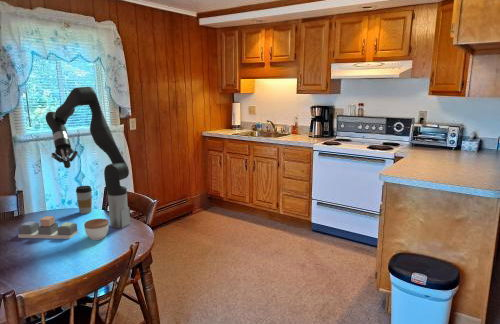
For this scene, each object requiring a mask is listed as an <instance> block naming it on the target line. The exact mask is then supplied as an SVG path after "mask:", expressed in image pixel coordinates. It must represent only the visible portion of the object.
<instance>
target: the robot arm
mask: <svg viewBox="0 0 500 324" xmlns="http://www.w3.org/2000/svg"><path fill="white" fill-rule="evenodd" d="M78 106H80V107H81V106H82V107H83V106H89V109H90V112H91V118H90V119H91V120H90V125H89V132H90V135H91V137H92V139H93V142H94V143H95V145H96V146H97V147H98V148H100V150H102V152H104V153H105V154H106V155H107V156H108V158H109V160H110V161H111V163H110V164H107V165H106V166H105V167H104V170H103V171H104V172H103V173H104V174H103V175H104V185H105V189H106V191H107V200H108V201H107V202H108V213H109V214H108V215H109V227H110V228H112V229H120V228H121V229H123V228H125V227H127V226H129V225H131V214H130V213H131V212H130V207H129V206H128V192H127V191H128V189H127V187H126V186H123V185H121V180H125V179H127V178H128V177H129V175H130V170H129V166H128V165H127V163H126V160H125V159H124V157H123V155H122V154H121V152H120V149H119V148H118V145H117V143H116V141H115V138H114V137H113V134H112V132H111V129H110V127H109V125H108V122H107V120H106V117H105V116H104V113H103V110H102V108H101V104H100V101H99V98H98V95H97V93H96V91H95V89H94V88H93V87H92V86H80V87H74V88H73V89H71V90H70V93H69V94H68V96H67V97H66V98H65V101H64V102H63V103H62V104H61V105H59V106H58V107H57V109H56V110H55V111H48V112H47V113H46V115H45V121H46V123H47V125H48V127H49V128H50V130H51V133H52V138H53V140H52V141H53V145H54V148H55V150H54V152H52V153H51V158H53V159H54V160H56V161H57V162H59V163H63V166H64V168H65V169H70V167H71V162H73V161H74V160H75V158H76V157H77V156H78V153H79V152H78V150H73V148H72V146H71V142H70V141H71V140H70V137H69V135H68V131H67V127H66V126H65V125H66V124H67V121H68V120H69V118H70V117H72V115H73V114H74V113H75V111H76V108H77V107H78Z"/></svg>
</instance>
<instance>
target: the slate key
mask: <svg viewBox="0 0 500 324" xmlns="http://www.w3.org/2000/svg"><path fill="white" fill-rule="evenodd" d="M36 223H37V221H26V222H24V223H22V224H21V225H20V226H21V227H31V226H33V225H35V224H36Z"/></svg>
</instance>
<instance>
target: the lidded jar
mask: <svg viewBox="0 0 500 324" xmlns="http://www.w3.org/2000/svg"><path fill="white" fill-rule="evenodd" d="M109 227H110V220H109V219H106V218H94V219H89V220H87V221H86V222H84V230H85V234H86V236H87V237H88V238H90V240H91V241H100V240H102V239H104V238H105V237H106V235H107V234H108V232H109Z"/></svg>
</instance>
